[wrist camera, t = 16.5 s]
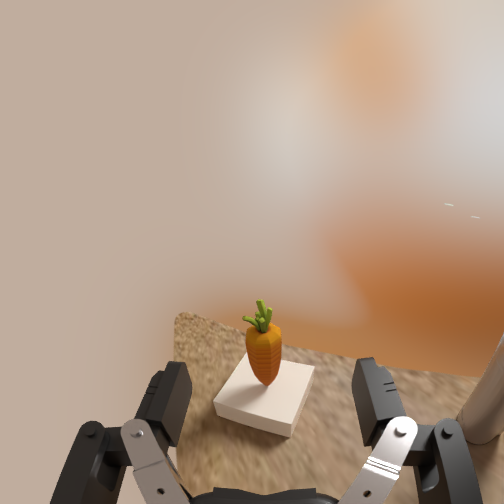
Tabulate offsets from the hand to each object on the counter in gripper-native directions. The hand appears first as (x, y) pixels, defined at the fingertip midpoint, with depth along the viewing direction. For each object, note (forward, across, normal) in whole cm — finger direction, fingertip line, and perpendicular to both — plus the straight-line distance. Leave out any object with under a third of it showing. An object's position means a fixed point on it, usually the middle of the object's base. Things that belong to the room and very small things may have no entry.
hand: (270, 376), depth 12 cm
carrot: (+20, +2, +24) cm, 31 cm away
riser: (+20, +2, +28) cm, 34 cm away
